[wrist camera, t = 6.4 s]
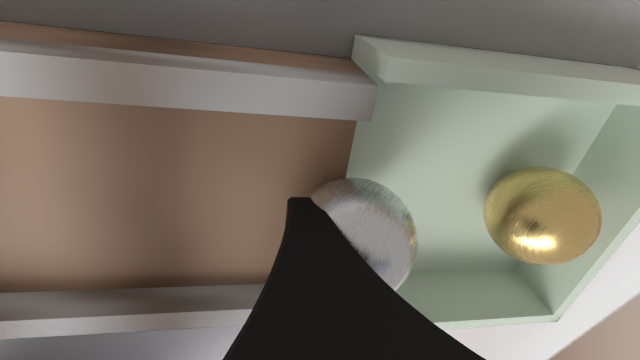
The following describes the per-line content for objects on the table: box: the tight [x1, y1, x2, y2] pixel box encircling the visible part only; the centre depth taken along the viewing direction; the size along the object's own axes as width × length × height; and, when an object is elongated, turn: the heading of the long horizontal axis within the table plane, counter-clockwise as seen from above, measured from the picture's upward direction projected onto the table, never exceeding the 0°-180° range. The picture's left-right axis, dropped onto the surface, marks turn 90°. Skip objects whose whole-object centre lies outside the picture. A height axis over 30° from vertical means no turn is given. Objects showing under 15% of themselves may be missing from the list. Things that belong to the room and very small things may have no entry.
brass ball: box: [483, 167, 602, 266], centre depth 13 cm, size 4×4×4 cm
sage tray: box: [346, 34, 640, 330], centre depth 14 cm, size 12×12×4 cm
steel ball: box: [308, 178, 418, 291], centre depth 10 cm, size 4×4×4 cm
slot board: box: [0, 21, 379, 340], centre depth 11 cm, size 14×10×3 cm
